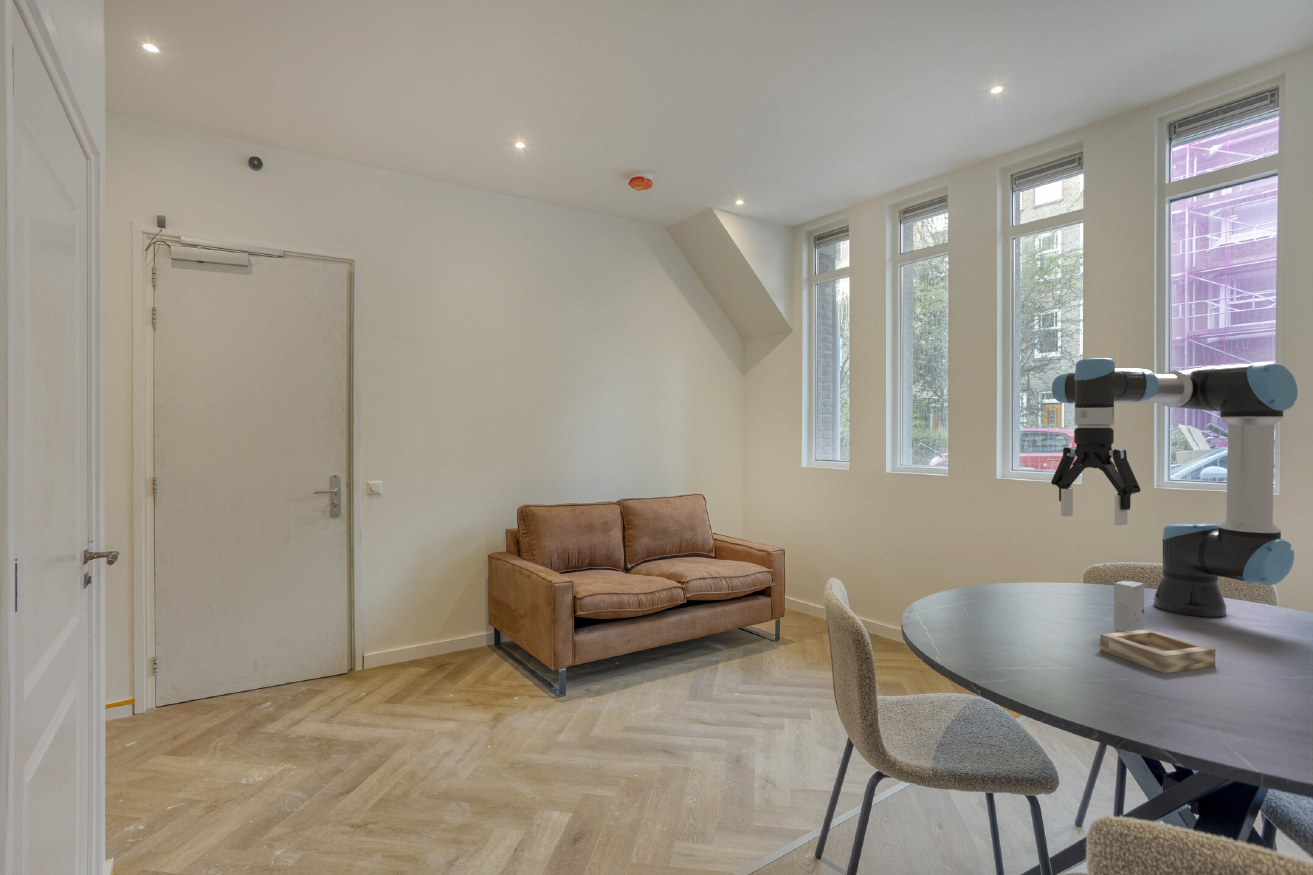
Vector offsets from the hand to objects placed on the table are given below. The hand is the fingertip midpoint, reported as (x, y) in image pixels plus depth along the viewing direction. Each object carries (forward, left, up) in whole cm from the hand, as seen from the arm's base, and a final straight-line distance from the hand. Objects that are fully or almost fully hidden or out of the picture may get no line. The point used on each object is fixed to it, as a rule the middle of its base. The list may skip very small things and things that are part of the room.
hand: (1092, 520), depth 151 cm
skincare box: (-14, -2, -28) cm, 32 cm away
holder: (-4, +12, -28) cm, 31 cm away
